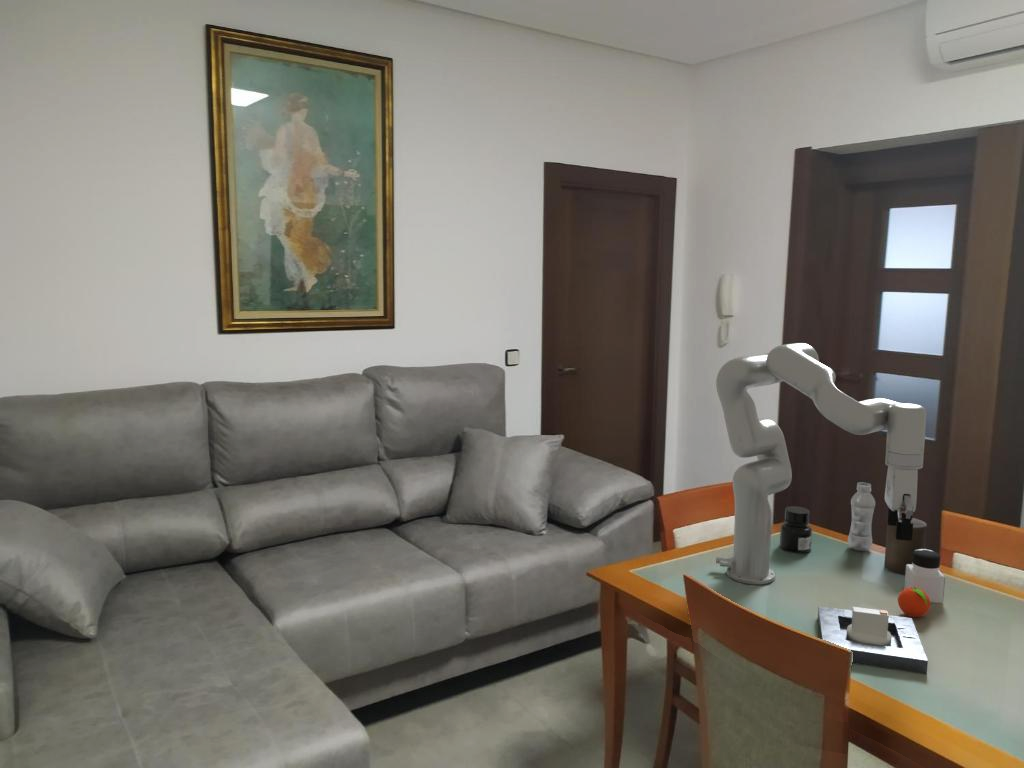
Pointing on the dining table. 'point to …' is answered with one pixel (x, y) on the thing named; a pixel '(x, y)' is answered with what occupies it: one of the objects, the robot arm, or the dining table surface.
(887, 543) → the pillar candle
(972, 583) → the dining table surface
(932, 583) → the medicine bottle
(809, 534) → the ink bottle
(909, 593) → the clementine
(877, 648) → the dial plate
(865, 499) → the plastic bottle
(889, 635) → the dial knob
